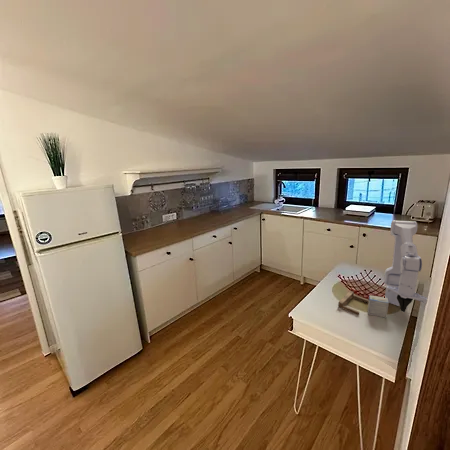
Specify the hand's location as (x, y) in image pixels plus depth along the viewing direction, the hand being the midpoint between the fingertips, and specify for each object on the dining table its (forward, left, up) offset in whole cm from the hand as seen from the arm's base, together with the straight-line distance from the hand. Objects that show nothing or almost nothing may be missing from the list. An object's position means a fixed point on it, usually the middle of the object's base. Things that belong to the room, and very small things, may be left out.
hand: (403, 310), depth 111 cm
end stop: (-5, -22, -10) cm, 25 cm away
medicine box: (-5, -11, -11) cm, 16 cm away
